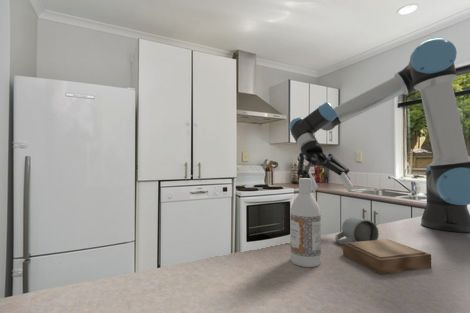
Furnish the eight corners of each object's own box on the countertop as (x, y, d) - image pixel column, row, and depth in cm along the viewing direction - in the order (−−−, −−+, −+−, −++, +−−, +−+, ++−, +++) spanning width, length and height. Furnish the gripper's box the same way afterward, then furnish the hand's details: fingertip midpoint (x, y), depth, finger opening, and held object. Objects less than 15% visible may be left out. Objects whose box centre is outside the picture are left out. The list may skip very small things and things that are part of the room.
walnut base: (387, 250, 69) (387, 237, 70) (431, 267, 58) (431, 253, 58) (343, 254, 66) (343, 241, 66) (380, 274, 54) (380, 258, 54)
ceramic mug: (362, 238, 80) (362, 214, 80) (379, 247, 72) (379, 219, 72) (330, 240, 79) (329, 215, 79) (343, 249, 71) (343, 221, 71)
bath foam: (285, 258, 63) (285, 177, 64) (308, 255, 65) (308, 177, 66) (301, 270, 57) (301, 179, 57) (327, 265, 59) (326, 179, 59)
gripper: (332, 154, 106) (359, 195, 92) (277, 153, 100) (296, 197, 85) (341, 140, 101) (370, 181, 87) (283, 138, 95) (304, 182, 80)
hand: (333, 189), depth 86 cm, fingers open, 13 cm apart
